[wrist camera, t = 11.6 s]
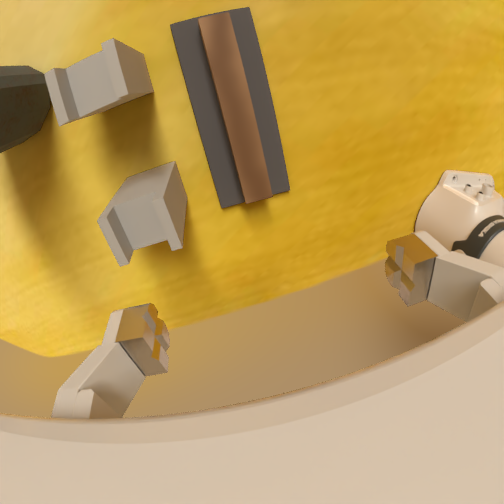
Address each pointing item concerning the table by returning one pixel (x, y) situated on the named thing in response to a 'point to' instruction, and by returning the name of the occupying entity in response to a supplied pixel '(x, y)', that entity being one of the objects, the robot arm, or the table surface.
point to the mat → (210, 112)
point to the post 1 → (98, 82)
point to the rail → (235, 105)
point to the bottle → (21, 104)
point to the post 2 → (146, 212)
